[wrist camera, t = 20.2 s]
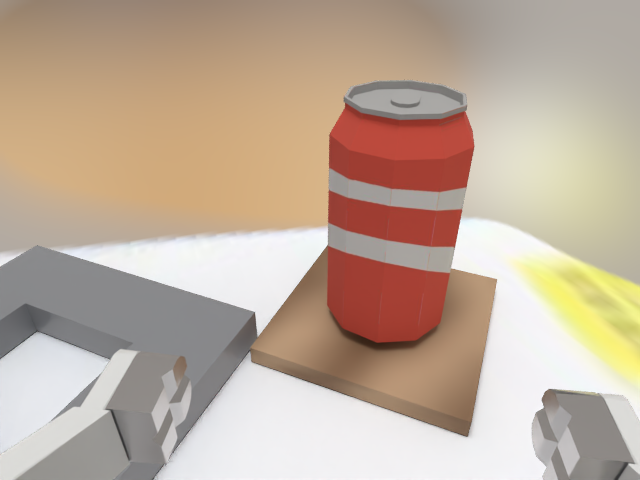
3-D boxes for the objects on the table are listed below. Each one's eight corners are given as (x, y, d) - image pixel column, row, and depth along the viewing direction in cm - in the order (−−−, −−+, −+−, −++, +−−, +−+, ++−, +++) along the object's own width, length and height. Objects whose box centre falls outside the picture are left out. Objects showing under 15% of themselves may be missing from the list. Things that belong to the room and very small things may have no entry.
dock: (-295, 490, 19) (-333, 460, 17) (46, 270, 31) (36, 245, 30) (-24, 712, 13) (-54, 690, 12) (257, 339, 26) (254, 312, 25)
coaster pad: (251, 361, 24) (249, 347, 24) (331, 252, 33) (331, 240, 32) (467, 436, 21) (471, 422, 20) (493, 292, 29) (497, 279, 29)
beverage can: (439, 284, 28) (476, 81, 22) (437, 363, 23) (485, 125, 16) (341, 270, 29) (348, 73, 23) (317, 342, 24) (317, 113, 18)
